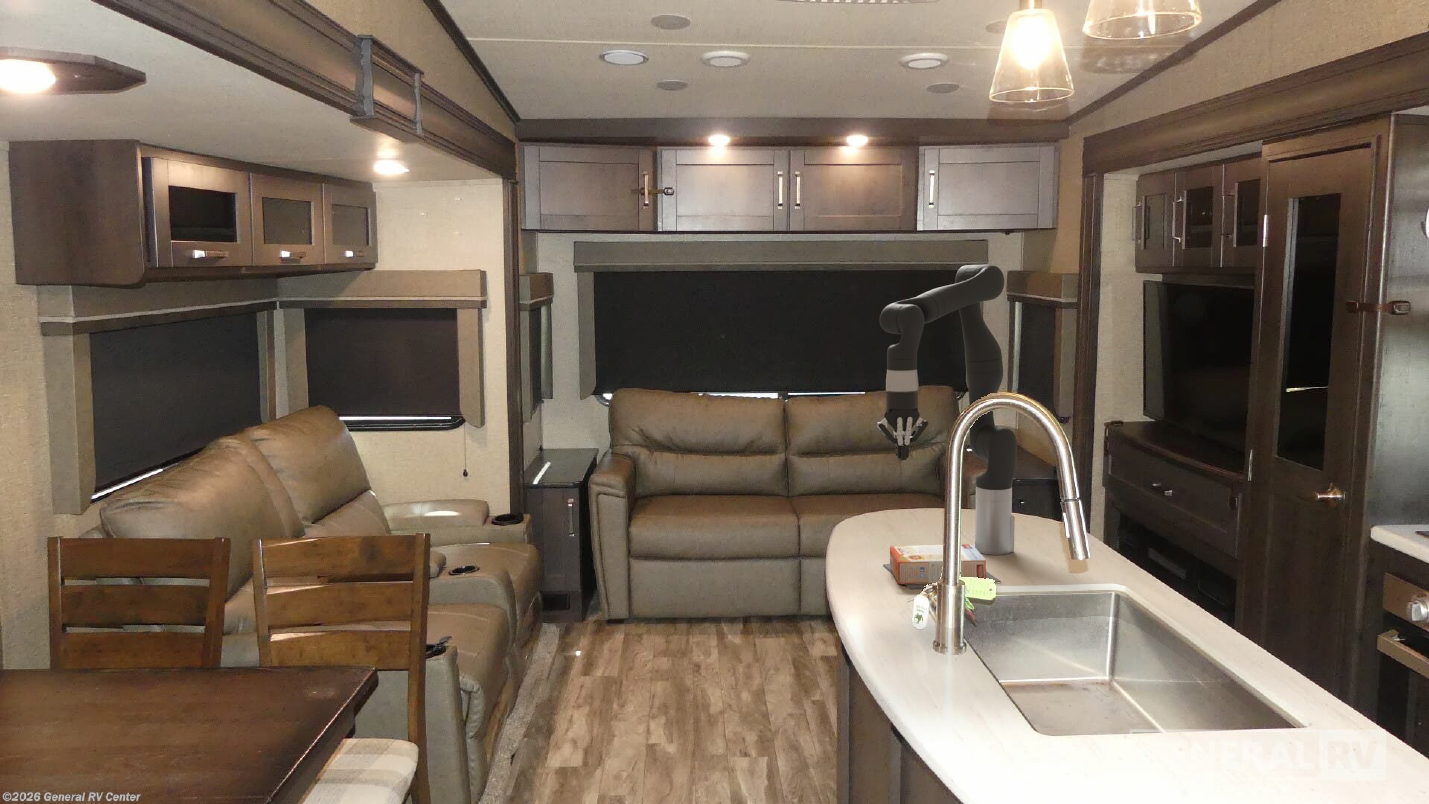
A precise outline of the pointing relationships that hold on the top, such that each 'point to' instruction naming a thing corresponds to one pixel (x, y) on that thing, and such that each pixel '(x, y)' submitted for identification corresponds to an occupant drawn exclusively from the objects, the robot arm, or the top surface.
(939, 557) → the cracker box
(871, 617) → the top surface
